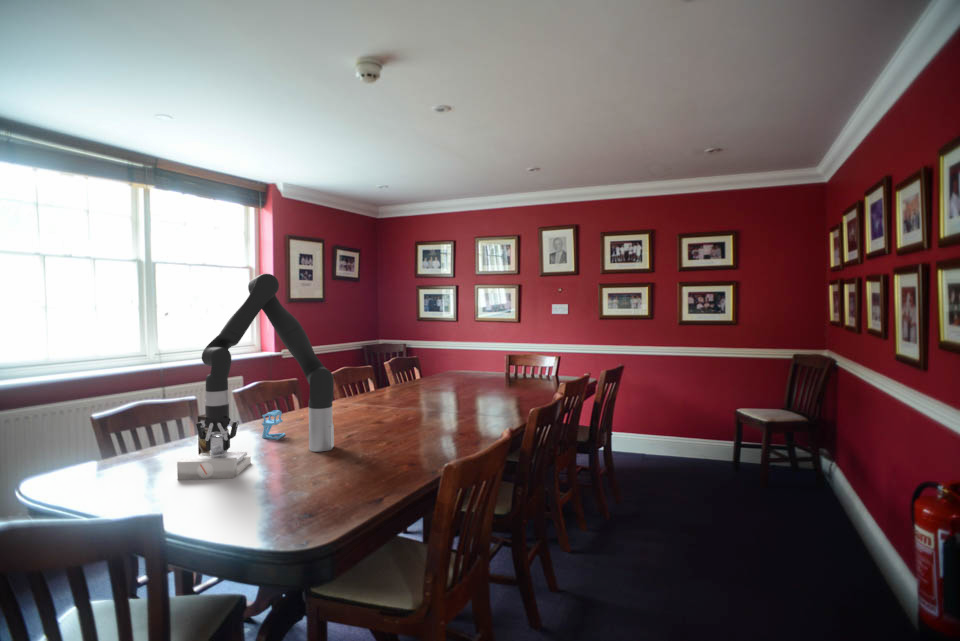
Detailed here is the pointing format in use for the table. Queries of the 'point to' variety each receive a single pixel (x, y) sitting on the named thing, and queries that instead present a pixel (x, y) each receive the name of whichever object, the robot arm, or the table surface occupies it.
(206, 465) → the scale
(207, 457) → the platter
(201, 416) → the coffee box
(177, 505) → the table surface
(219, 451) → the small grey jar
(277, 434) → the chair
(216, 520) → the table surface
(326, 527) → the table surface
